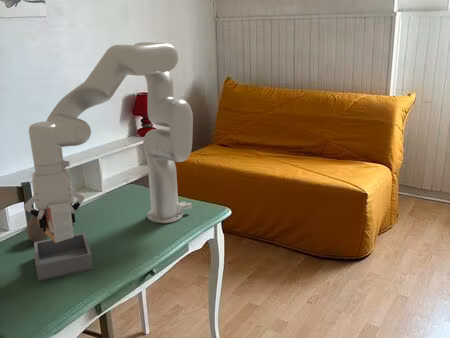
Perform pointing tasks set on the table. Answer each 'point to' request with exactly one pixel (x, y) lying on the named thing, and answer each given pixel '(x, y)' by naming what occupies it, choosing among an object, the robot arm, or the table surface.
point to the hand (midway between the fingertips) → (58, 226)
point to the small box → (58, 222)
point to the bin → (62, 257)
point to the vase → (35, 230)
